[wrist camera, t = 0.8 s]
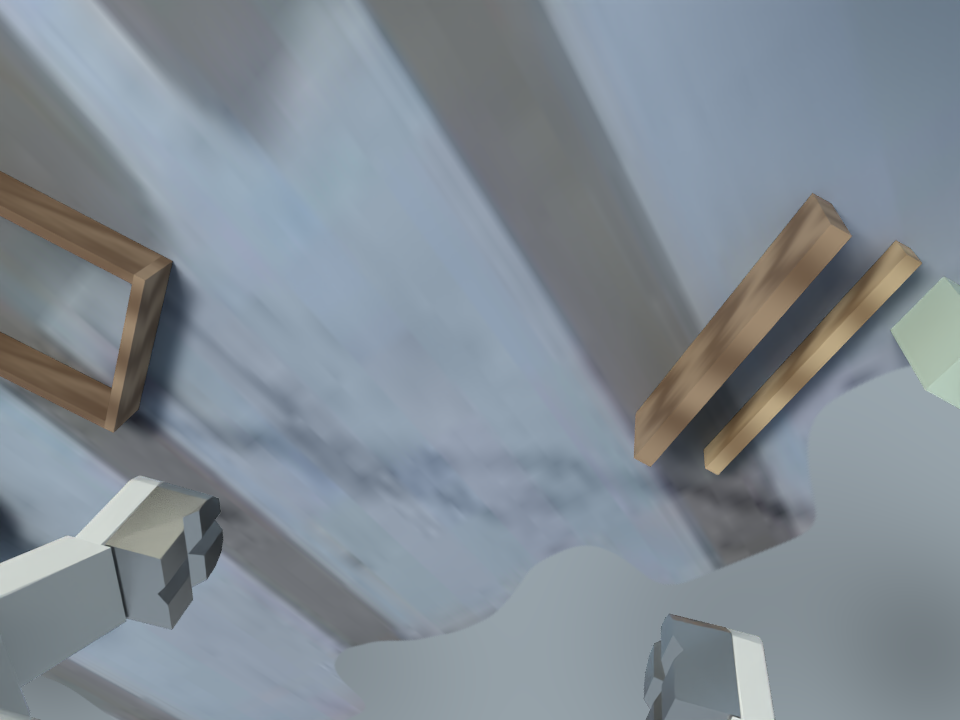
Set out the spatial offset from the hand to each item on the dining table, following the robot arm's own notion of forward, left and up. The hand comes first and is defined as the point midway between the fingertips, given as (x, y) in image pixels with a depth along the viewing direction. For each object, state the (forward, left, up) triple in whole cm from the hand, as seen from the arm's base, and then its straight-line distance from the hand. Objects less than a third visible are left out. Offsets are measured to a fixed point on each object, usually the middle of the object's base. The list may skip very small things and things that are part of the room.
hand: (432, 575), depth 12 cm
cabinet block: (+2, +29, -42) cm, 51 cm away
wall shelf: (+10, +20, -42) cm, 48 cm away
